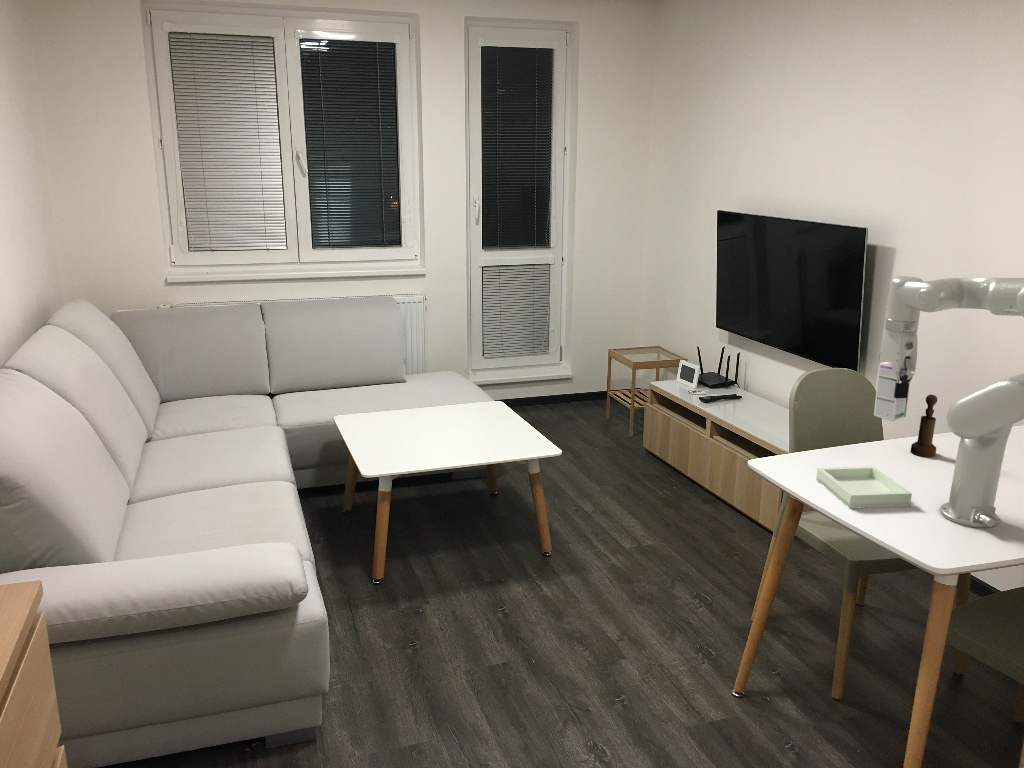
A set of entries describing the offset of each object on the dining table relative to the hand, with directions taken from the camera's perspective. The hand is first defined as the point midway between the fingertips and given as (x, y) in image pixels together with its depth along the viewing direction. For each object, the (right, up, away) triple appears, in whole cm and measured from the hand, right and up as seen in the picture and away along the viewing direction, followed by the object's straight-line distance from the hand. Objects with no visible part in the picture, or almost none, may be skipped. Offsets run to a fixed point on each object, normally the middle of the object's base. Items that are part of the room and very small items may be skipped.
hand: (892, 392), depth 212 cm
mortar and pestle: (+23, -18, +30) cm, 42 cm away
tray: (-7, -26, +2) cm, 27 cm away
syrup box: (0, -6, +2) cm, 7 cm away
